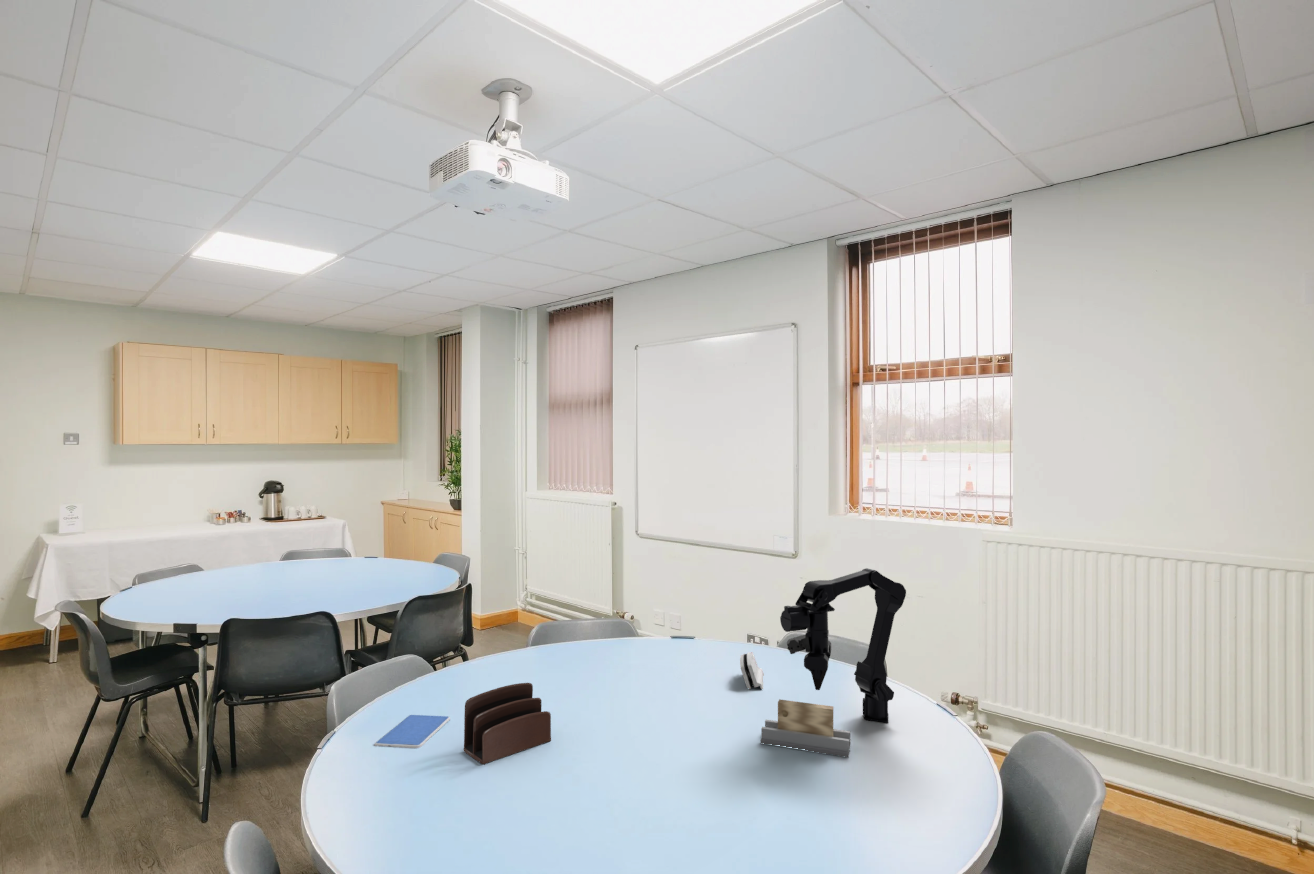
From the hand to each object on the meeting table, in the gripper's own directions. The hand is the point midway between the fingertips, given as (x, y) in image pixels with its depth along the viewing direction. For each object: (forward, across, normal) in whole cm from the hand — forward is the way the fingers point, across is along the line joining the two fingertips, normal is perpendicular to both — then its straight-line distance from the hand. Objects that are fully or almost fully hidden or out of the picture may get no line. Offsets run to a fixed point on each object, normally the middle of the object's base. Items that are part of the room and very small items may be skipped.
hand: (818, 684), depth 182 cm
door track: (+11, +13, -3) cm, 17 cm away
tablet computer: (+10, +40, -104) cm, 112 cm away
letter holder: (+10, +40, -75) cm, 85 cm away
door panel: (+10, +13, -3) cm, 17 cm away
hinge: (+12, -31, -24) cm, 41 cm away
